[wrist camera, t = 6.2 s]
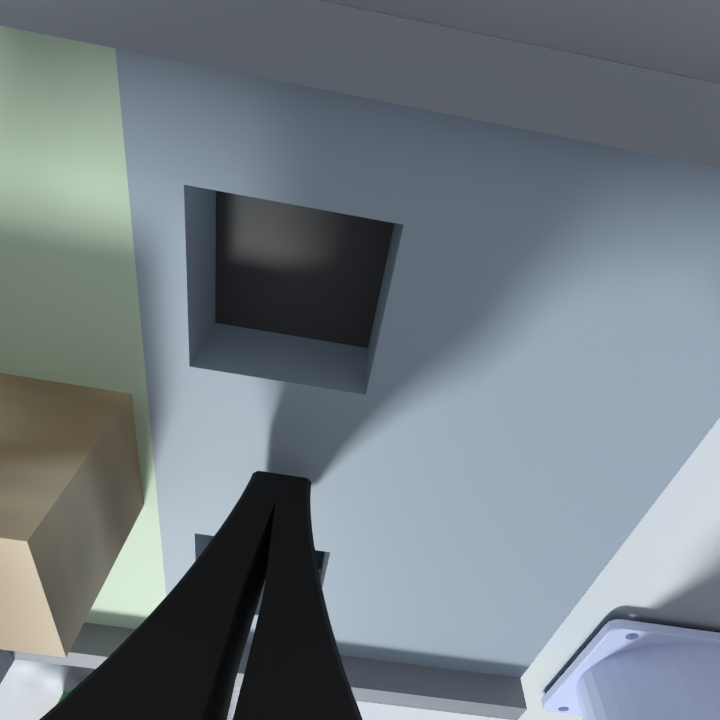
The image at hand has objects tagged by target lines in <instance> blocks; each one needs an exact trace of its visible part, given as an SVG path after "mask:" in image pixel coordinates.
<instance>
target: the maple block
mask: <svg viewBox="0 0 720 720" xmlns="http://www.w3.org/2000/svg"><path fill="white" fill-rule="evenodd" d="M143 506H144V501H143V492H142V483H141V474H140V465H139V456H138V448H137V439H136V430H135V421H134V412H133V403H132V394H130V393H123V392H117V391H111V390H104V389H98V388H92V387H86V386H79V385H73V384H67V383H60V382H54V381H48V380H41V379H35V378H29V377H22V376H16V375H10V374H4V373H0V649H1V650H9V651H17V652H25V653H33V654H41V655H49V656H58V657H67V655H68V653H69V651H70V649H71V647H72V645H73V643H74V641H75V639H76V637H77V635H78V633H79V631H80V630H81V628H82V626H83V624H84V622H85V620H86V618H87V616H88V614H89V612H90V610H91V608H92V606H93V604H94V602H95V600H96V598H97V596H98V594H99V592H100V590H101V588H102V587H103V585H104V583H105V581H106V579H107V577H108V575H109V573H110V571H111V569H112V567H113V565H114V563H115V561H116V559H117V557H118V555H119V553H120V551H121V549H122V547H123V545H124V543H125V542H126V540H127V538H128V536H129V534H130V532H131V530H132V528H133V526H134V524H135V522H136V520H137V518H138V516H139V514H140V512H141V510H142V508H143Z"/></svg>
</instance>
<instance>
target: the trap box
mask: <svg viewBox="0 0 720 720" xmlns="http://www.w3.org/2000/svg"><path fill="white" fill-rule="evenodd" d="M0 373H4V374H10V375H16V376H22V377H29V378H35V379H41V380H48V381H54V382H60V383H67V384H73V385H79V386H86V387H92V388H98V389H104V390H111V391H117V392H123V393H130V394H132V403H133V412H134V421H135V430H136V439H137V448H138V456H139V465H140V474H141V483H142V492H143V501H144V506H143V508H142V510H141V512H140V514H139V516H138V518H137V520H136V522H135V524H134V526H133V528H132V530H131V532H130V534H129V536H128V538H127V540H126V542H125V543H124V545H123V547H122V549H121V551H120V553H119V555H118V557H117V559H116V561H115V563H114V565H113V567H112V569H111V571H110V573H109V575H108V577H107V579H106V581H105V583H104V585H103V587H102V588H101V590H100V592H99V594H98V596H97V598H96V600H95V602H94V604H93V606H92V608H91V610H90V612H89V614H88V616H87V618H86V620H85V622H84V624H83V626H82V628H81V630H80V631H79V633H78V635H77V637H76V639H75V641H74V643H73V645H72V647H71V649H70V651H69V653H68V655H67V657H58V656H49V655H41V654H33V653H25V652H17V651H9V650H1V649H0V683H1V682H2V680H3V678H4V677H5V675H6V673H7V672H8V670H9V668H10V666H11V665H12V663H13V661H14V660H15V659H19V660H28V661H36V662H44V663H52V664H60V665H68V666H77V667H85V668H93V669H96V668H97V667H99V666H100V665H101V664H102V663H103V662H104V661H105V660H106V659H107V658H108V657H109V656H110V655H111V654H112V653H113V652H114V651H115V650H116V649H117V648H118V647H119V646H120V645H121V644H122V643H123V642H124V641H125V640H126V639H127V638H128V637H129V636H130V635H131V634H132V633H133V632H134V631H135V630H136V629H137V628H138V627H139V626H140V625H141V624H142V623H143V621H144V620H145V619H146V618H147V617H148V616H149V615H150V614H151V613H152V612H153V611H154V610H155V608H156V607H157V606H158V605H159V604H160V603H161V602H162V601H163V600H164V598H165V597H166V596H167V595H168V594H169V593H170V592H171V590H172V589H173V588H174V587H175V586H176V585H177V583H178V582H179V581H180V580H181V579H182V577H183V576H184V575H185V574H186V572H187V571H188V570H189V569H190V567H191V566H192V565H193V564H194V562H195V561H196V560H197V559H198V557H199V556H200V555H201V553H202V552H203V551H204V550H205V548H206V547H207V546H208V544H209V543H210V542H211V540H212V539H213V537H214V536H215V534H216V533H217V532H218V530H219V529H220V527H221V526H222V525H223V523H224V522H225V520H226V519H227V517H228V516H229V514H230V513H231V511H232V510H233V508H234V506H235V505H236V503H237V502H238V500H239V498H240V497H241V495H242V493H243V492H244V490H245V488H246V486H247V484H248V482H249V480H250V478H251V476H252V474H253V473H254V472H256V471H264V472H270V473H277V474H284V475H291V476H297V477H304V478H308V479H309V480H310V481H311V482H312V483H311V496H310V507H311V522H312V532H313V541H314V547H315V553H316V559H317V566H318V571H319V576H320V581H321V586H322V590H323V595H324V599H325V603H326V607H327V611H328V615H329V619H330V623H331V627H332V630H333V634H334V637H335V641H336V644H337V647H338V651H339V654H340V657H341V660H342V663H343V667H344V670H345V673H346V676H347V678H348V681H349V684H350V687H351V689H352V692H353V695H354V698H355V701H363V702H371V703H380V704H388V705H396V706H404V707H412V708H420V709H429V710H437V711H445V712H453V713H461V714H470V715H478V716H486V717H494V718H502V719H510V720H518V719H519V717H520V716H521V715H522V714H523V713H524V711H525V710H526V709H527V708H526V703H525V698H524V694H523V689H522V684H521V680H520V678H521V676H522V675H523V674H524V672H525V671H526V670H527V669H528V667H529V666H530V665H531V663H532V662H533V661H534V659H535V658H536V657H537V655H538V654H539V653H540V652H541V650H542V649H543V648H544V646H545V645H546V644H547V642H548V641H549V640H550V638H551V637H552V636H553V635H554V633H555V632H556V631H557V629H558V628H559V627H560V625H561V624H562V623H563V621H564V620H565V619H566V618H567V616H568V615H569V614H570V612H571V611H572V610H573V608H574V607H575V606H576V604H577V603H578V602H579V601H580V599H581V598H582V597H583V595H584V594H585V593H586V591H587V590H588V589H589V587H590V586H591V585H592V584H593V582H594V581H595V580H596V578H597V577H598V576H599V574H600V573H601V572H602V570H603V569H604V568H605V567H606V565H607V564H608V563H609V561H610V560H611V559H612V557H613V556H614V555H615V553H616V552H617V551H618V550H619V548H620V547H621V546H622V544H623V543H624V542H625V540H626V539H627V538H628V536H629V535H630V534H631V533H632V531H633V530H634V529H635V527H636V526H637V525H638V523H639V522H640V521H641V519H642V518H643V517H644V516H645V514H646V513H647V512H648V510H649V509H650V508H651V506H652V505H653V504H654V502H655V501H656V500H657V499H658V497H659V496H660V495H661V493H662V492H663V491H664V489H665V488H666V487H667V485H668V484H669V483H670V482H671V480H672V479H673V478H674V476H675V475H676V474H677V472H678V471H679V470H680V468H681V467H682V466H683V465H684V463H685V462H686V461H687V459H688V458H689V457H690V455H691V454H692V453H693V452H694V450H695V449H696V448H697V446H698V445H699V444H700V442H701V441H702V440H703V438H704V437H705V436H706V435H707V433H708V432H709V431H710V429H711V428H712V427H713V425H714V424H715V423H716V421H717V420H718V419H719V418H720V84H719V83H714V82H710V81H705V80H700V79H695V78H690V77H686V76H681V75H676V74H671V73H666V72H662V71H657V70H652V69H647V68H642V67H638V66H633V65H628V64H623V63H618V62H614V61H609V60H604V59H599V58H594V57H590V56H585V55H580V54H575V53H570V52H566V51H561V50H556V49H551V48H547V47H542V46H537V45H532V44H527V43H523V42H518V41H513V40H508V39H503V38H499V37H494V36H489V35H484V34H479V33H475V32H470V31H465V30H460V29H455V28H451V27H446V26H441V25H436V24H431V23H427V22H422V21H417V20H412V19H407V18H403V17H398V16H393V15H388V14H384V13H379V12H374V11H369V10H364V9H360V8H355V7H350V6H345V5H340V4H336V3H331V2H326V1H321V0H0ZM264 585H265V582H264ZM263 591H264V586H263V589H262V592H261V596H260V599H259V602H258V606H257V609H256V612H255V616H254V619H253V622H252V625H251V629H250V632H249V635H248V639H247V642H246V645H245V649H244V652H243V655H242V658H241V662H240V665H239V669H238V673H237V677H236V680H235V684H234V686H240V687H241V685H242V681H243V677H244V673H245V669H246V665H247V661H248V657H249V652H250V648H251V644H252V640H253V636H254V632H255V627H256V623H257V619H258V615H259V610H260V606H261V602H262V597H263Z"/></svg>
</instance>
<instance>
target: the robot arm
mask: <svg viewBox="0 0 720 720" xmlns="http://www.w3.org/2000/svg"><path fill="white" fill-rule="evenodd" d="M311 483H312V482H311V481H310V480H309V479H308V478H304V477H297V476H291V475H284V474H277V473H270V472H264V471H256V472H254V473H253V474H252V476H251V478H250V480H249V482H248V484H247V486H246V488H245V490H244V492H243V493H242V495H241V497H240V498H239V500H238V502H237V503H236V505H235V506H234V508H233V510H232V511H231V513H230V514H229V516H228V517H227V519H226V520H225V522H224V523H223V525H222V526H221V527H220V529H219V530H218V532H217V533H216V534H215V536H214V537H213V539H212V540H211V542H210V543H209V544H208V546H207V547H206V548H205V550H204V551H203V552H202V553H201V555H200V556H199V557H198V559H197V560H196V561H195V562H194V564H193V565H192V566H191V567H190V569H189V570H188V571H187V572H186V574H185V575H184V576H183V577H182V579H181V580H180V581H179V582H178V583H177V585H176V586H175V587H174V588H173V589H172V590H171V592H170V593H169V594H168V595H167V596H166V597H165V598H164V600H163V601H162V602H161V603H160V604H159V605H158V606H157V607H156V608H155V610H154V611H153V612H152V613H151V614H150V615H149V616H148V617H147V618H146V619H145V620H144V621H143V623H142V624H141V625H140V626H139V627H138V628H137V629H136V630H135V631H134V632H133V633H132V634H131V635H130V636H129V637H128V638H127V639H126V640H125V641H124V642H123V643H122V644H121V645H120V646H119V647H118V648H117V649H116V650H115V651H114V652H113V653H112V654H111V655H110V656H109V657H108V658H107V659H106V660H105V661H104V662H103V663H102V664H101V665H100V666H99V667H97V668H96V669H95V670H94V671H93V672H92V673H91V674H90V675H89V676H88V677H87V678H85V679H84V680H83V681H82V682H81V683H80V684H79V685H78V686H77V687H76V688H75V689H73V690H72V691H71V692H70V693H69V694H68V695H67V696H66V697H65V698H64V699H63V700H61V701H60V702H59V703H58V704H57V705H56V706H55V707H54V708H52V709H51V710H50V711H49V712H48V713H47V714H46V715H44V716H43V717H42V718H41V719H40V720H227V716H228V711H229V707H230V702H231V698H232V693H233V688H234V684H235V680H236V677H237V673H238V669H239V665H240V662H241V658H242V655H243V652H244V649H245V645H246V642H247V639H248V635H249V632H250V629H251V625H252V622H253V619H254V616H255V612H256V609H257V606H258V602H259V599H260V596H261V592H262V589H263V586H264V591H263V597H262V602H261V606H260V610H259V615H258V619H257V623H256V627H255V632H254V636H253V640H252V644H251V648H250V652H249V657H248V661H247V665H246V669H245V673H244V677H243V681H242V685H241V689H240V693H239V697H238V701H237V705H236V709H235V713H234V717H233V720H362V717H361V714H360V712H359V709H358V706H357V703H356V701H355V698H354V695H353V692H352V689H351V687H350V684H349V681H348V678H347V676H346V673H345V670H344V667H343V663H342V660H341V657H340V654H339V651H338V647H337V644H336V641H335V637H334V634H333V630H332V627H331V623H330V619H329V615H328V611H327V607H326V603H325V599H324V595H323V590H322V586H321V581H320V576H319V571H318V566H317V559H316V553H315V547H314V541H313V532H312V522H311V507H310V496H311ZM264 582H265V585H264ZM541 702H542V706H543V708H544V709H545V710H546V711H550V712H557V713H565V714H573V715H581V716H583V720H720V633H718V632H711V631H704V630H697V629H689V628H682V627H675V626H667V625H660V624H653V623H645V622H638V621H631V620H623V619H615V620H611V621H609V622H607V623H606V624H605V625H604V627H603V628H602V629H601V630H600V631H599V632H598V634H597V635H596V636H595V637H594V638H593V639H592V641H591V642H590V643H589V644H588V645H587V646H586V647H585V649H584V650H583V651H582V652H581V653H580V654H579V656H578V657H577V658H576V659H575V660H574V661H573V663H572V664H571V665H570V666H569V667H568V668H567V670H566V671H565V672H564V673H563V674H562V675H561V677H560V678H559V679H558V680H557V681H556V682H555V683H554V685H553V686H552V687H551V688H550V689H549V690H548V692H547V693H546V694H545V695H544V696H543V697H542V699H541Z"/></svg>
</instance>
